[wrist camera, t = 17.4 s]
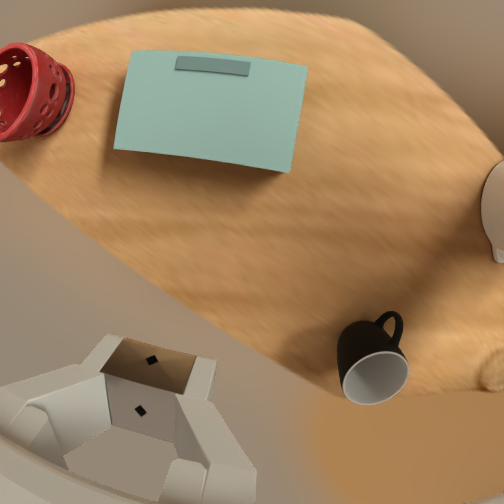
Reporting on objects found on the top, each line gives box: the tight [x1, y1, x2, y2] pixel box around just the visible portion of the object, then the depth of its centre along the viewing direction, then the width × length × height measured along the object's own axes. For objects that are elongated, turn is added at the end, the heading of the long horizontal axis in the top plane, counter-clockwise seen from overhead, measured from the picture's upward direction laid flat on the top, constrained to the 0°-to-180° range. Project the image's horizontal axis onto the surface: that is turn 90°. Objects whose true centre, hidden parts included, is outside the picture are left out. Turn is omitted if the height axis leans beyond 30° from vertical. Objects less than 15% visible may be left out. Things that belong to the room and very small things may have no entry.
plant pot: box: [0, 43, 75, 142], centre depth 32 cm, size 13×13×12 cm
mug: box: [337, 311, 409, 405], centre depth 40 cm, size 12×9×10 cm
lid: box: [113, 50, 308, 173], centre depth 32 cm, size 20×12×1 cm, turn 80°
